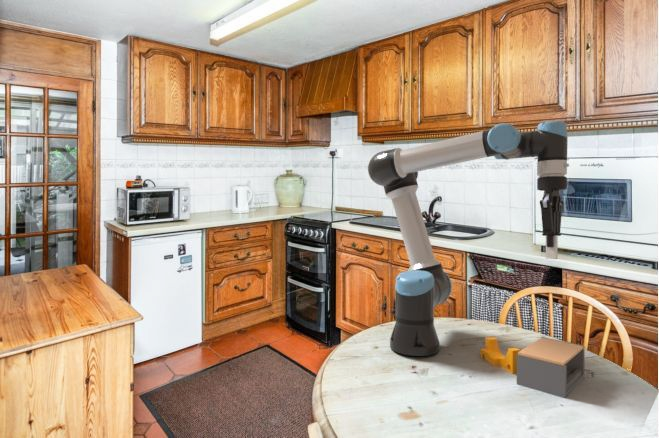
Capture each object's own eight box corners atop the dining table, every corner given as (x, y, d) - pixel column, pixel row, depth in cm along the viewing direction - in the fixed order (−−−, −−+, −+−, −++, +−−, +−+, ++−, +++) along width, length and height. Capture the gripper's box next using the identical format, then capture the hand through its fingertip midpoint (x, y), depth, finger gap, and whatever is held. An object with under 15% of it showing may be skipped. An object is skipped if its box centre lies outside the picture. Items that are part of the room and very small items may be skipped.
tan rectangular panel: (518, 355, 103) (518, 352, 103) (542, 339, 116) (542, 336, 116) (563, 366, 96) (563, 362, 96) (584, 348, 108) (584, 345, 108)
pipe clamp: (480, 359, 121) (480, 338, 121) (492, 358, 123) (493, 337, 122) (506, 375, 110) (507, 351, 110) (520, 373, 111) (520, 350, 111)
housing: (516, 384, 104) (516, 354, 103) (539, 366, 115) (540, 340, 115) (565, 397, 96) (565, 366, 96) (584, 377, 108) (584, 349, 108)
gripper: (559, 174, 110) (558, 261, 110) (573, 177, 119) (572, 257, 119) (529, 175, 115) (529, 259, 115) (545, 178, 124) (545, 255, 124)
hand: (551, 258), depth 117 cm, fingers closed
